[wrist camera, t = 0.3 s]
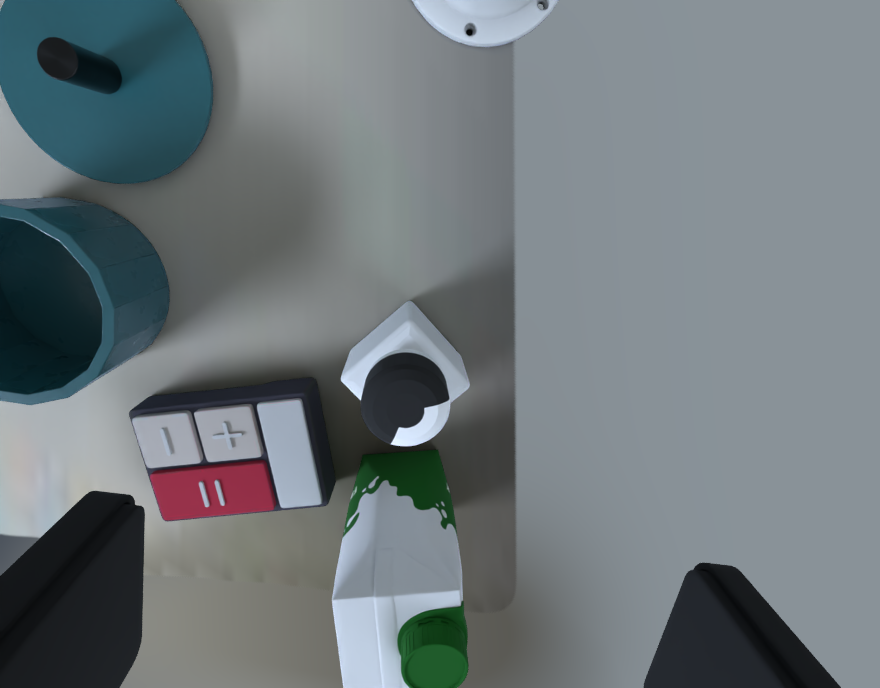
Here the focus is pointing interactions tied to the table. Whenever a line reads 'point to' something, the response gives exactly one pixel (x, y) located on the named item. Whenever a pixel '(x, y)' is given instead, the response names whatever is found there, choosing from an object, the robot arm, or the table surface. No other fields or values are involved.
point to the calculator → (236, 450)
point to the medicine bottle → (405, 378)
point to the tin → (72, 296)
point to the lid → (107, 84)
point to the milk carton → (400, 578)
